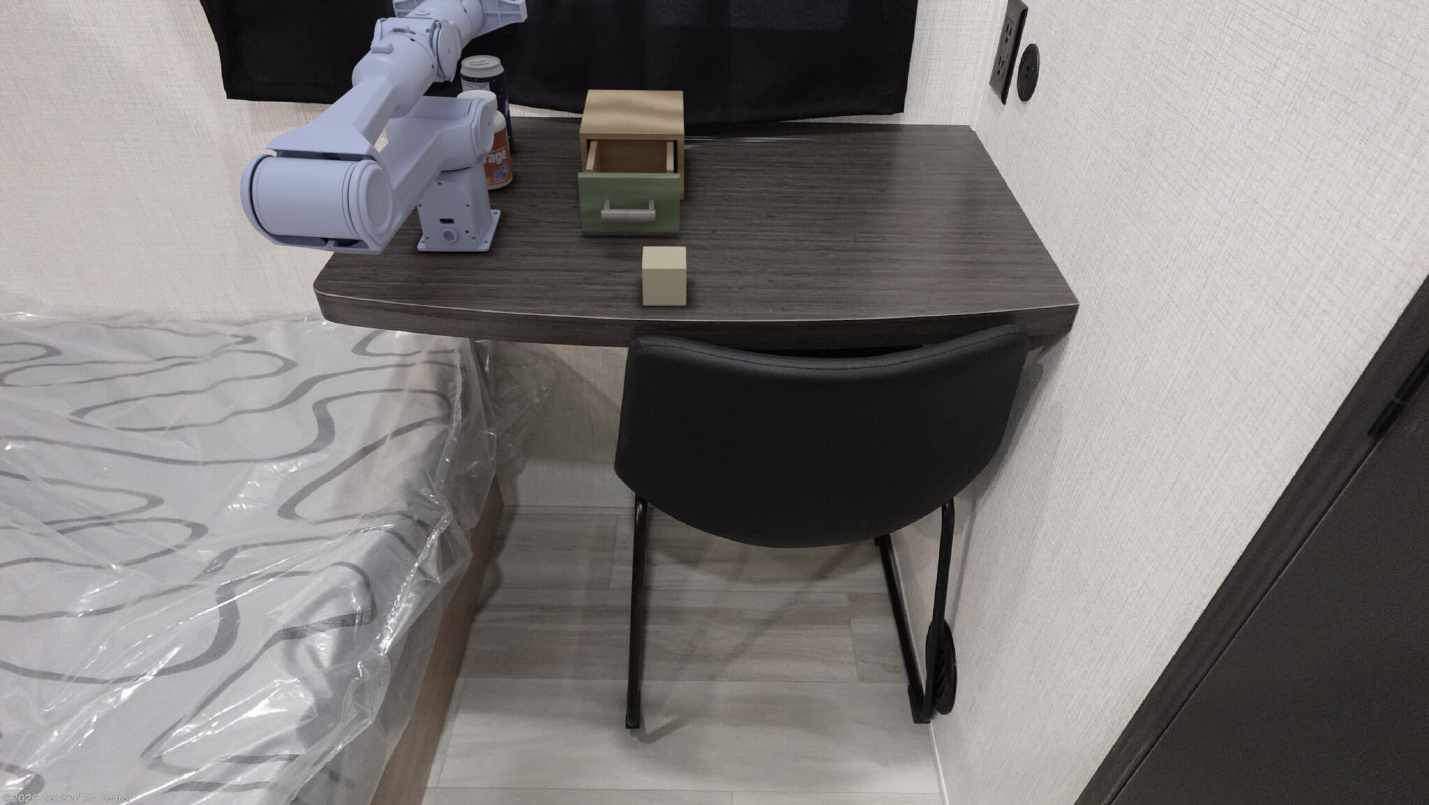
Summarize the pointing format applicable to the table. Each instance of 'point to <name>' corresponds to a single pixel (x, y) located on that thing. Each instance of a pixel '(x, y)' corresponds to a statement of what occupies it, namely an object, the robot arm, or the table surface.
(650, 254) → the block
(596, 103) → the cabinet
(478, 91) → the pill bottle
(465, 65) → the beverage can
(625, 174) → the drawer
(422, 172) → the robot arm
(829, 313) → the table surface
